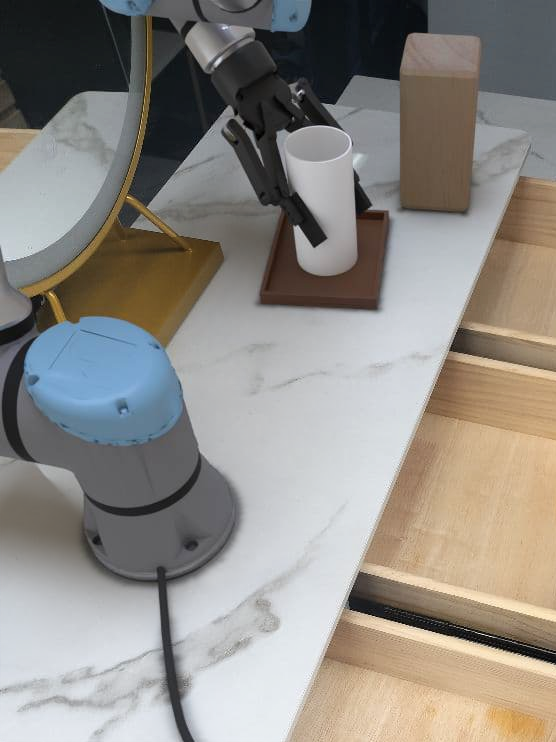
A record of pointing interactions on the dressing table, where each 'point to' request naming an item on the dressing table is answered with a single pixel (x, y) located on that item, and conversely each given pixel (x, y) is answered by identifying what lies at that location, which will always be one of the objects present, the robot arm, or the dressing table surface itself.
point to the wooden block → (438, 120)
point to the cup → (324, 196)
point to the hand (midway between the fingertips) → (343, 226)
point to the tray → (343, 290)
